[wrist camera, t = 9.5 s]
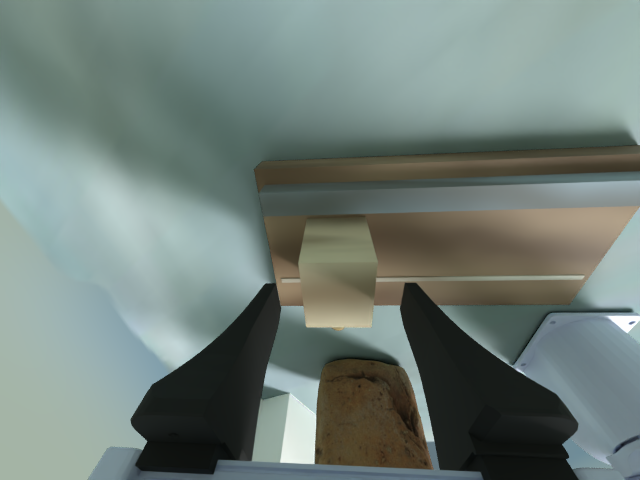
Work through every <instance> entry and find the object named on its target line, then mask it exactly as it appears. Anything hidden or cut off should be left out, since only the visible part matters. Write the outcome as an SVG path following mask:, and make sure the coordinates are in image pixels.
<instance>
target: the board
mask: <svg viewBox="0 0 640 480" xmlns="http://www.w3.org/2000/svg"><path fill="white" fill-rule="evenodd" d="M254 172H255V177H256V182H257V187H258V192H259V198H260V203H261V208H262V213H263V218H264V223H265V228H266V233H267V238H268V243H269V248H270V253H271V258H272V263H273V268H274V273H275V279H276V284H277V289H278V294H279V299H280V304H281V306H304V305H303V297H302V289H301V281H300V273H299V265H298V262H299V257H300V252H301V247H302V242H303V236H304V231H305V226H306V221H307V219H310V218H348V217H366V220H367V223H368V227H369V231H370V235H371V238H372V242H373V246H374V249H375V253H376V257H377V261H378V266H377V276H376V287H375V297H374V305H401V301H402V295H403V289H404V284H405V283H417V284H418V285H419V286H420V287H421V288H422V290H423V291H424V292H425V293H426V294H427V295H428V296H429V297H430V299H431V300H432V301H433V302H434V303H435V304H436V305H570V303H571V302H572V300H573V299H574V298H575V296H576V295H577V293H578V292H579V291H580V289H581V288H582V287H583V285H584V284H585V282H586V281H587V280H588V278H589V277H590V275H591V274H592V273H593V271H594V270H595V268H596V267H597V266H598V264H599V263H600V261H601V260H602V259H603V257H604V256H605V254H606V253H607V252H608V250H609V249H610V247H611V246H612V245H613V243H614V242H615V240H616V239H617V238H618V236H619V235H620V233H621V232H622V231H623V229H624V228H625V226H626V225H627V224H628V222H629V221H630V219H631V218H632V217H633V215H634V214H635V212H636V211H637V210H638V208H639V207H640V145H633V146H610V147H586V148H563V149H540V150H516V151H493V152H470V153H446V154H423V155H400V156H377V157H353V158H330V159H307V160H283V161H262V162H261V163H260V164H259V165H258V166H257V167H256V168H255V169H254Z"/></svg>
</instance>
